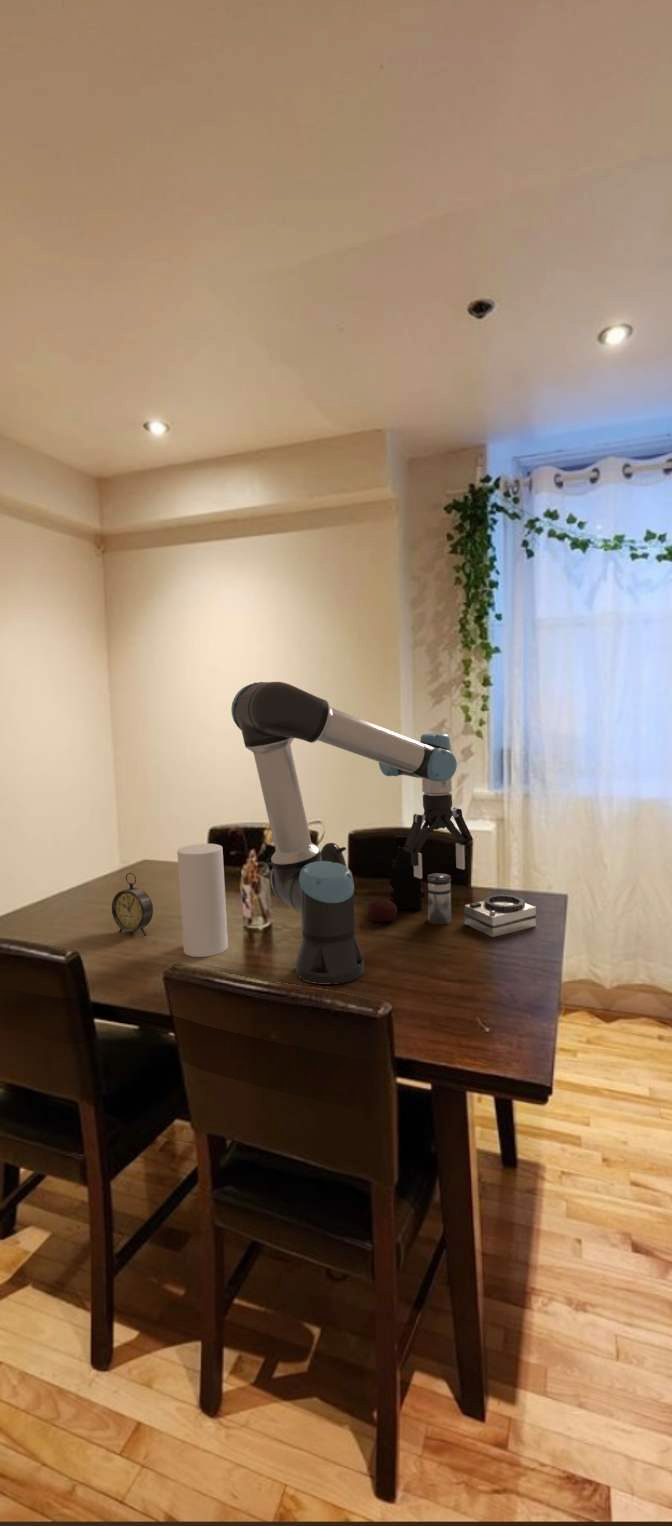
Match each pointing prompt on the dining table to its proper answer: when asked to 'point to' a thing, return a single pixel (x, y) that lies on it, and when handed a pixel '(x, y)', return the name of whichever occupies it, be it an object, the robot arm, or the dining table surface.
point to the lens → (439, 898)
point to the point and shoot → (500, 915)
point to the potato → (382, 910)
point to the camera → (405, 879)
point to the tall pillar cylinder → (202, 899)
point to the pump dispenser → (333, 853)
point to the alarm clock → (132, 909)
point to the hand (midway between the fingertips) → (439, 872)
